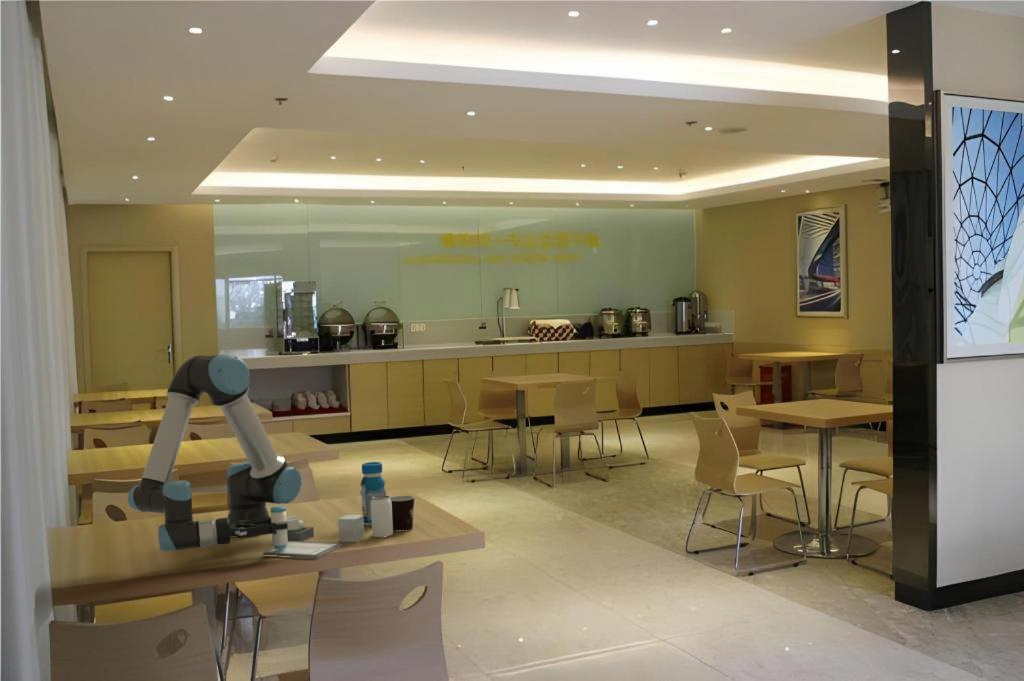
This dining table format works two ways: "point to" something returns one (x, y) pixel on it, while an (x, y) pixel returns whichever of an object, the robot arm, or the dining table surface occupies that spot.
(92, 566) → the dining table surface
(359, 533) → the product box
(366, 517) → the beverage bottle
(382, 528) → the can
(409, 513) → the coffee mug
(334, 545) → the picture board
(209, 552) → the dining table surface
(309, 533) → the button box
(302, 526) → the button
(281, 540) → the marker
